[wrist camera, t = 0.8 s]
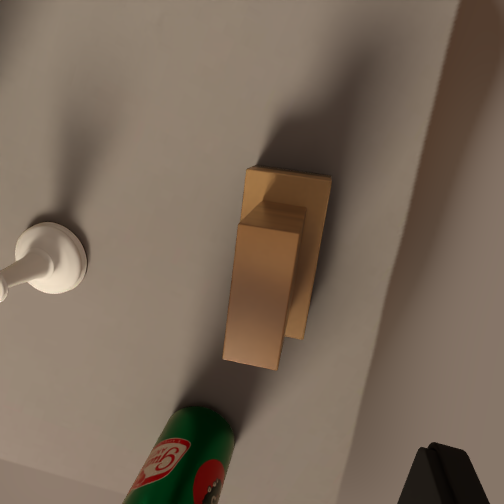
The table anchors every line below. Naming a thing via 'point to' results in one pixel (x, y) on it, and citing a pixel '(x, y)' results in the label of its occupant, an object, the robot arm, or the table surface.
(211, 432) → the soda can
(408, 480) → the robot arm
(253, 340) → the wooden inverted t block
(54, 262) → the chess piece
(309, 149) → the table surface
